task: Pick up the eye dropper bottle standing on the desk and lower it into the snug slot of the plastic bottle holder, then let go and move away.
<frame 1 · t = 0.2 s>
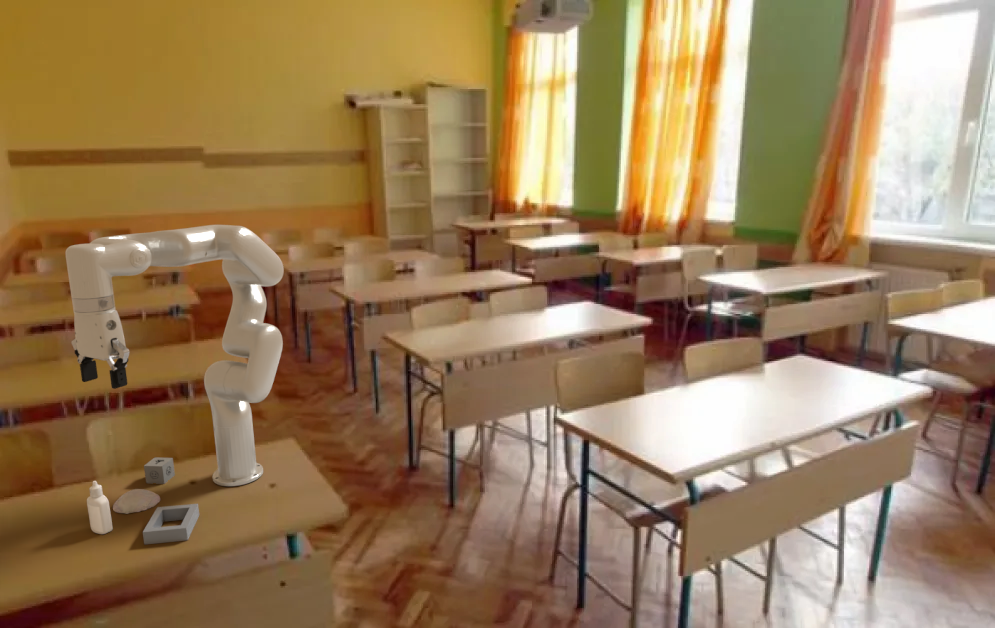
hand: (104, 383, 147), 36 cm above the table, tool pointing down, fingers open, 9 cm apart
dice cube: (160, 480, 183), on the table
seashell: (136, 505, 171), on the table
bottle holder: (172, 529, 159), on the table
eye dropper bottle: (102, 530, 159), on the table
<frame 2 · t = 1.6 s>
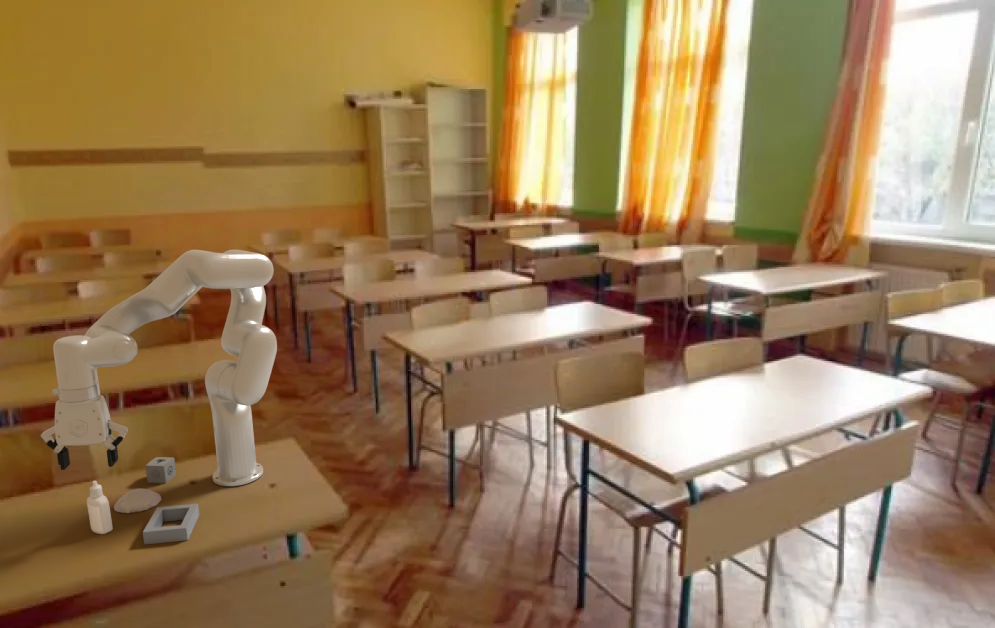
hand: (89, 465, 155), 16 cm above the table, tool pointing down, fingers open, 9 cm apart
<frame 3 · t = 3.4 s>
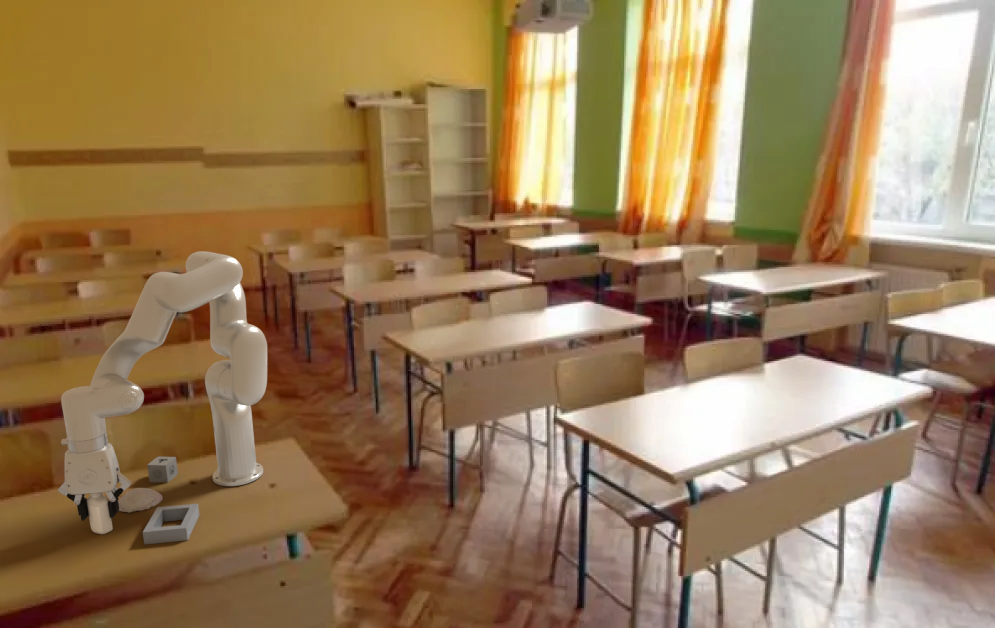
hand: (99, 515, 158), 4 cm above the table, tool pointing down, fingers closed on eye dropper bottle, 5 cm apart
eye dropper bottle: (102, 530, 159), on the table, touching gripper
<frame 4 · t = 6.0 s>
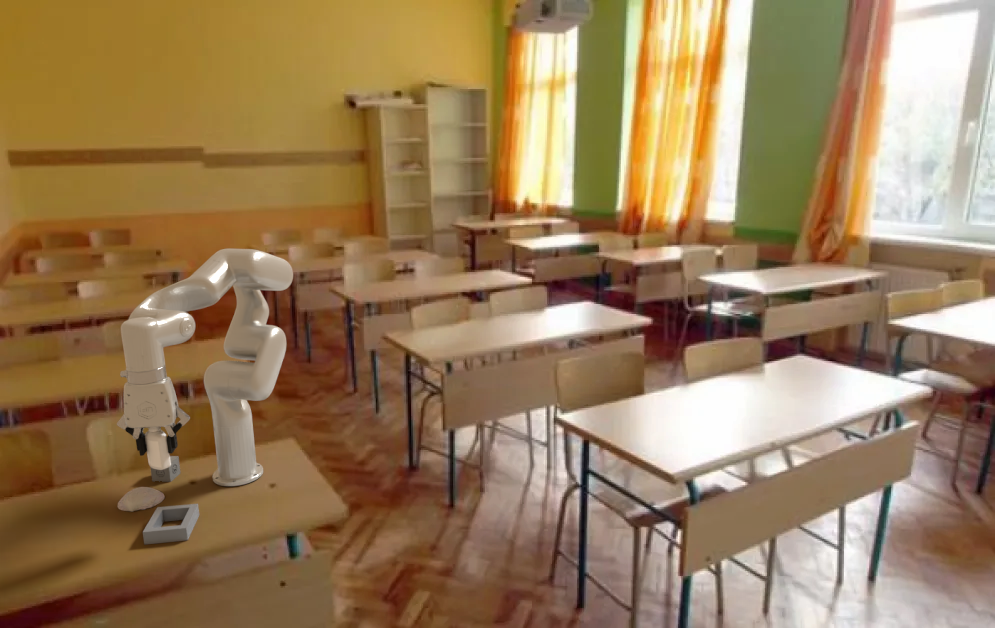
hand: (158, 451, 155), 19 cm above the table, tool pointing down, fingers closed on eye dropper bottle, 5 cm apart
eye dropper bottle: (160, 466, 156), point 15 cm above the table, touching gripper
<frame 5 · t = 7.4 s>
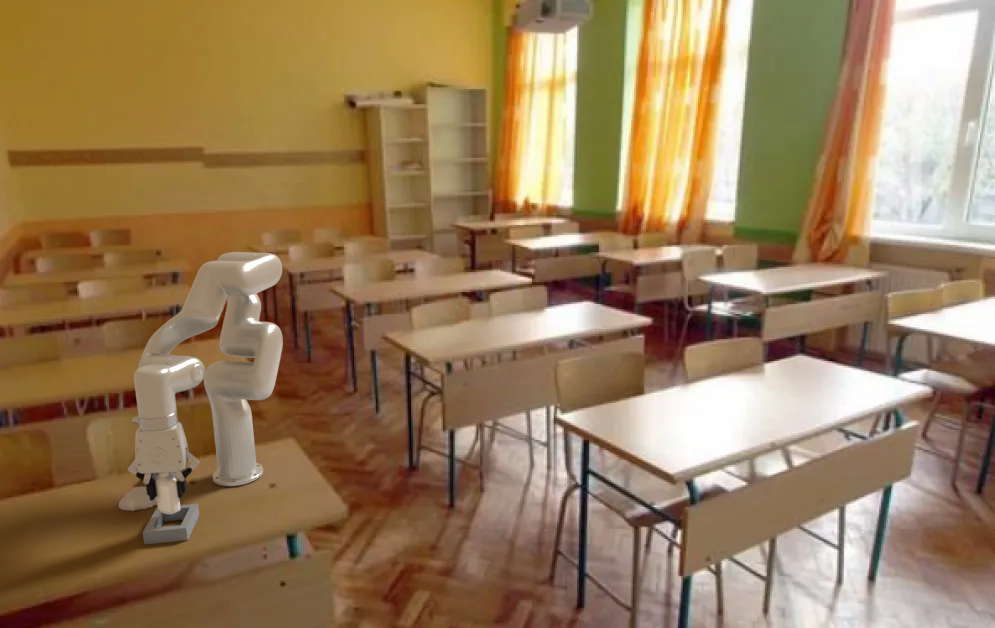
hand: (167, 495, 157), 9 cm above the table, tool pointing down, fingers closed on eye dropper bottle, 5 cm apart
eye dropper bottle: (169, 510, 158), point 5 cm above the table, touching gripper
when the fingers open (4 cm above the table, at t = 8.7 s): eye dropper bottle stays where it is, resting in bottle holder.
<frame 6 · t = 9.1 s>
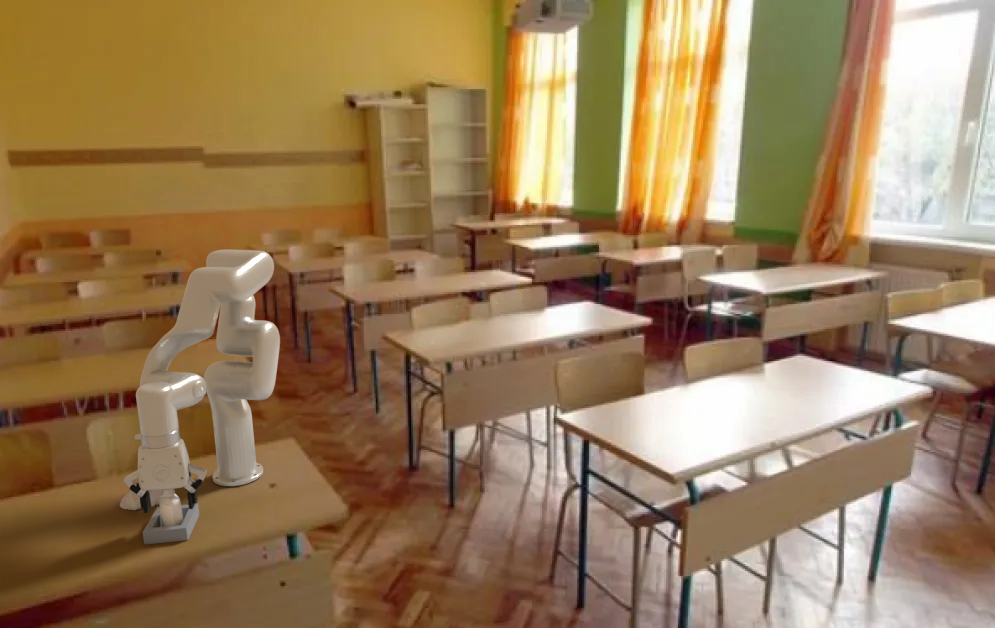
hand: (170, 508, 158), 5 cm above the table, tool pointing down, fingers open, 9 cm apart
eye dropper bottle: (173, 529, 159), resting in bottle holder
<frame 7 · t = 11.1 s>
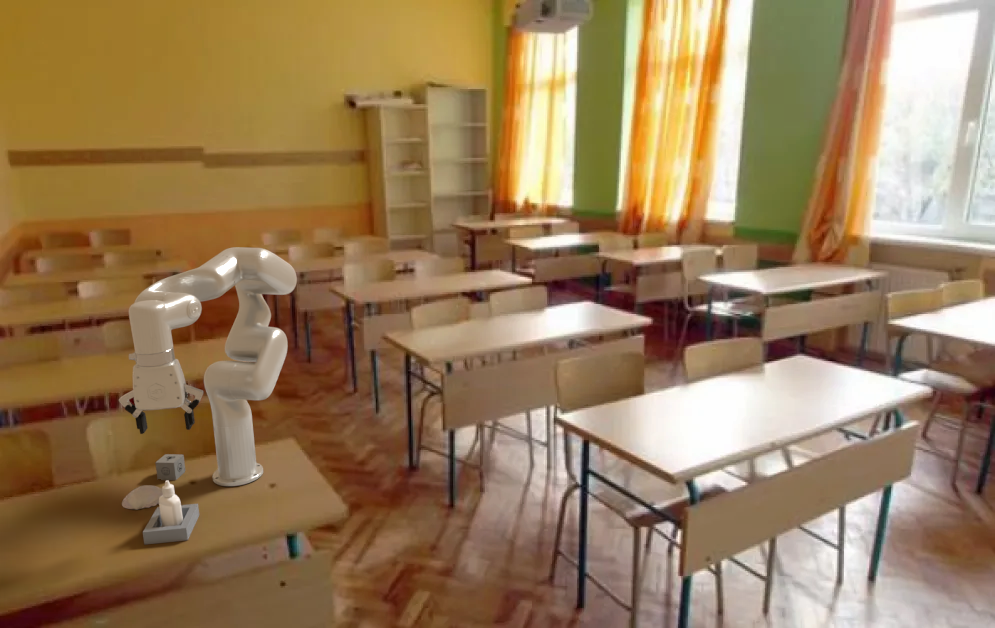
hand: (167, 429, 156), 23 cm above the table, tool pointing down, fingers open, 9 cm apart
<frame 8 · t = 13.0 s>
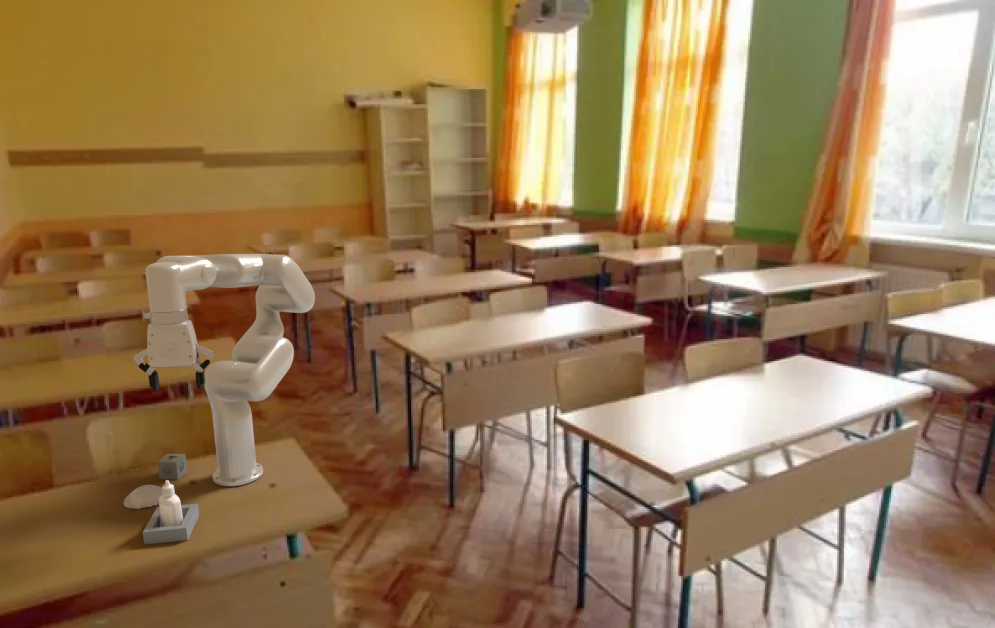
hand: (178, 388, 162), 30 cm above the table, tool pointing down, fingers open, 9 cm apart
at the end: eye dropper bottle 0.1 cm off-centre on the bottle holder, point 0.0 cm above the bottle holder's base; eye dropper bottle tilted 0°; the gripper is holding nothing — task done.
